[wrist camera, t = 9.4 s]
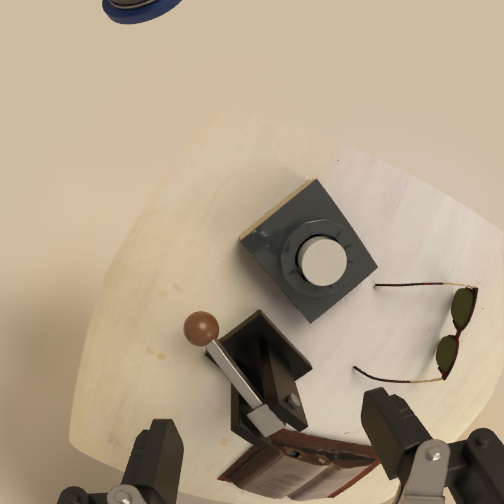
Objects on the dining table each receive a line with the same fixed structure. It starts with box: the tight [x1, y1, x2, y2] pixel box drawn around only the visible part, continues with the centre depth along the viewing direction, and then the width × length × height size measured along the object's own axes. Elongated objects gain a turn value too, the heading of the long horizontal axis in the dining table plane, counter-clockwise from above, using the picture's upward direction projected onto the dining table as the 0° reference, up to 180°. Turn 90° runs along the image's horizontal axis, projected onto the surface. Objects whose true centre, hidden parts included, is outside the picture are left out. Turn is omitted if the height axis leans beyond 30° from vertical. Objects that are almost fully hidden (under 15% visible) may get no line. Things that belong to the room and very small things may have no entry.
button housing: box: [240, 179, 378, 323], centre depth 27 cm, size 11×9×5 cm
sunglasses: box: [353, 283, 478, 383], centre depth 30 cm, size 14×15×5 cm
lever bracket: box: [205, 310, 313, 451], centre depth 26 cm, size 10×8×12 cm
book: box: [218, 429, 381, 501], centre depth 36 cm, size 20×28×4 cm
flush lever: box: [184, 311, 287, 437], centre depth 23 cm, size 13×3×3 cm, turn 40°
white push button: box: [298, 236, 347, 286], centre depth 24 cm, size 4×4×2 cm
